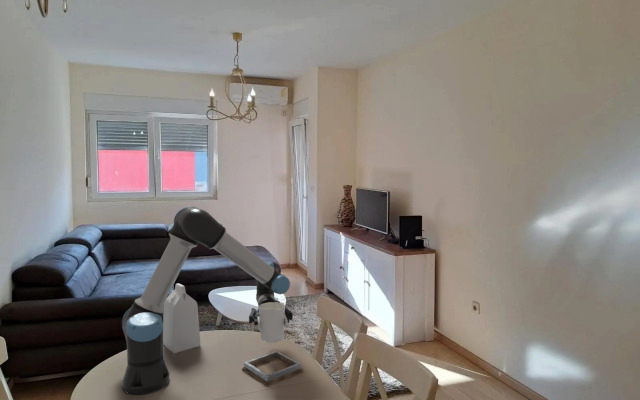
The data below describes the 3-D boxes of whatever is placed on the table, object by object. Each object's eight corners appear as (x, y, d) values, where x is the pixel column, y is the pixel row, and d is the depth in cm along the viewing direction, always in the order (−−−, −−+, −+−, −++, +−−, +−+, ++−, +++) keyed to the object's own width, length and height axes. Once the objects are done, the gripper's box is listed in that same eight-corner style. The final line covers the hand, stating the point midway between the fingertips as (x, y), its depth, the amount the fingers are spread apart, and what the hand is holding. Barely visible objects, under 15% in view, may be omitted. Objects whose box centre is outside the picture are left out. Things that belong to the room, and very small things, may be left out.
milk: (200, 345, 179) (199, 285, 177) (174, 353, 171) (172, 290, 169) (188, 337, 188) (187, 279, 186) (162, 344, 180) (161, 284, 178)
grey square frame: (267, 382, 146) (267, 377, 146) (244, 367, 157) (243, 362, 157) (300, 368, 156) (300, 363, 156) (276, 355, 167) (276, 350, 167)
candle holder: (284, 343, 151) (284, 310, 150) (256, 343, 151) (256, 310, 150) (286, 333, 160) (286, 302, 159) (261, 332, 160) (260, 302, 160)
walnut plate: (267, 386, 145) (267, 383, 145) (242, 370, 157) (242, 367, 157) (302, 371, 156) (302, 368, 156) (277, 357, 168) (276, 354, 167)
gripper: (293, 312, 175) (303, 333, 153) (240, 316, 170) (242, 338, 149) (293, 294, 175) (303, 312, 153) (240, 298, 170) (242, 317, 148)
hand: (273, 325), depth 151 cm, fingers closed on candle holder, 9 cm apart
